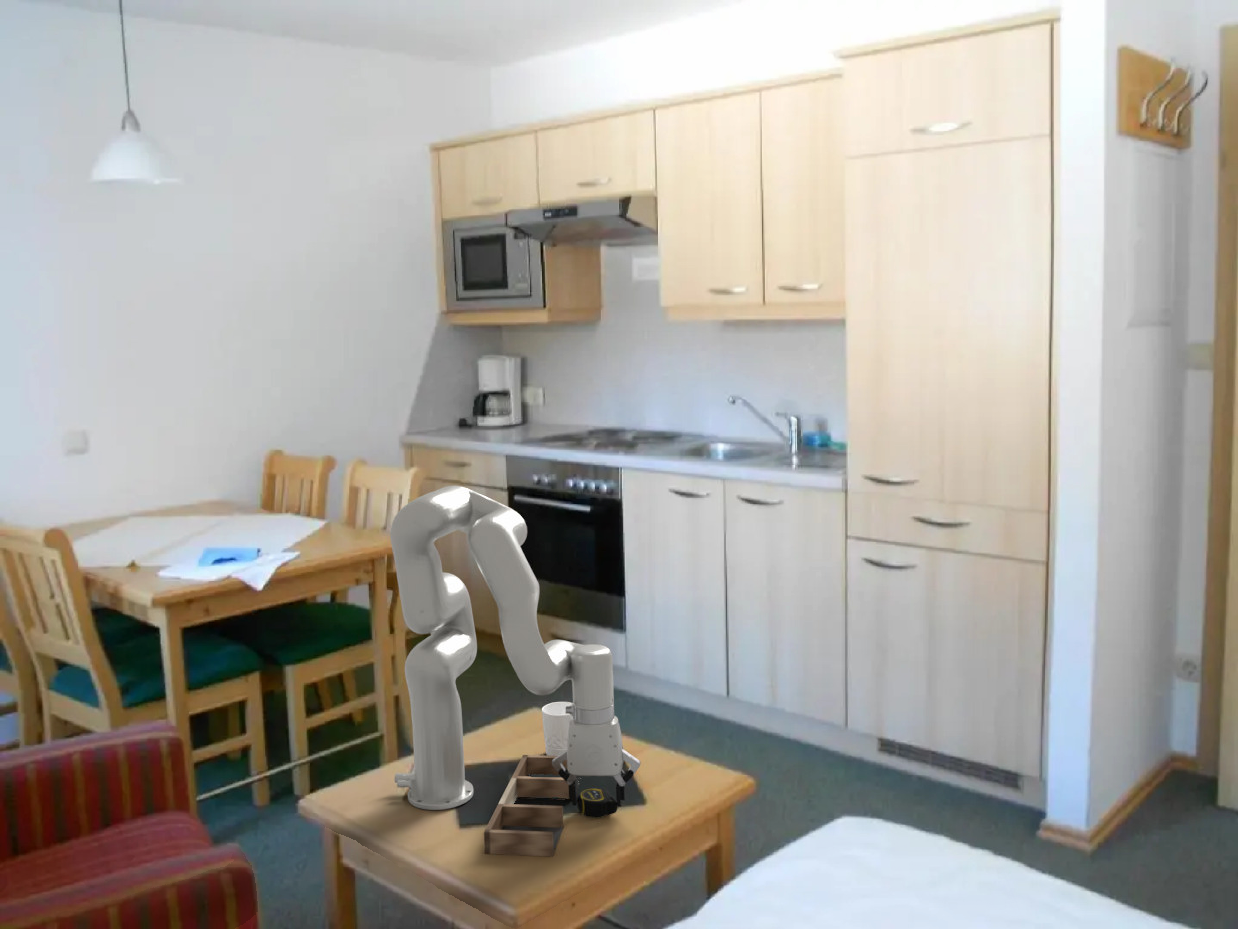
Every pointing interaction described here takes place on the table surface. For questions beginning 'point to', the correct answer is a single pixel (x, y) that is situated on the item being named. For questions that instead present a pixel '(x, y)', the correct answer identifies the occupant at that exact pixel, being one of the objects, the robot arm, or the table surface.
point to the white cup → (556, 727)
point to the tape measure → (596, 803)
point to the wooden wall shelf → (528, 811)
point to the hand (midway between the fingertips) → (597, 802)
